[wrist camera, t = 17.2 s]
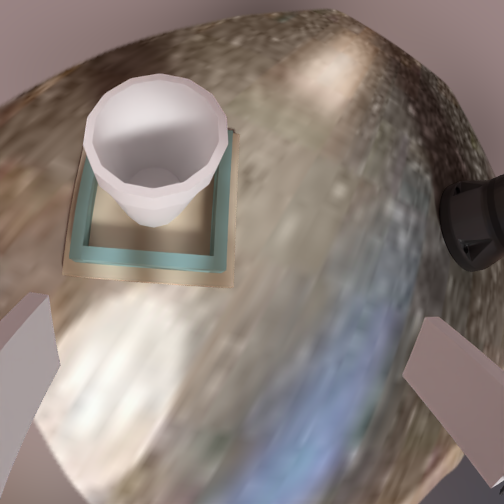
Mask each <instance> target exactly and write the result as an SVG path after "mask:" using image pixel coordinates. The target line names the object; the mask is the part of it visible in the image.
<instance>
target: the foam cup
mask: <svg viewBox="0 0 504 504" xmlns="http://www.w3.org/2000/svg"><path fill="white" fill-rule="evenodd" d="M83 146H84V149H85V152H86V154H87V157H88V160H89V162H90V165H91V167H92V170H93V172H94V174H95V177H96V179H97V182H98V184H99V186H100V187H101V188H102V189H104V190H105V191H106V192H107V193H109V194H110V195H111V196H112V197H113V199H114V200H115V201H116V202H117V203H118V204H119V206H120V207H121V208H122V209H123V210H124V211H125V213H126V214H127V215H128V216H129V217H130V218H132V219H133V220H134V221H136V222H137V223H138V224H139V225H143V226H148V227H153V228H155V227H159V226H163V225H167V224H169V223H170V222H171V221H172V220H174V219H175V218H176V217H177V216H178V215H179V214H180V213H181V212H182V211H183V210H184V209H185V207H186V206H187V205H188V204H189V203H190V202H191V200H192V199H193V198H194V197H195V196H196V194H197V193H199V192H200V191H201V190H202V189H204V188H205V187H206V186H208V185H209V183H210V181H211V179H212V177H213V175H214V173H215V171H216V169H217V167H218V165H219V163H220V160H221V158H222V156H223V154H224V152H225V150H226V148H227V146H228V130H227V117H226V115H225V113H224V112H223V110H222V109H221V107H220V105H219V104H218V102H217V101H216V99H215V97H214V96H213V94H211V93H210V92H208V91H207V90H205V89H204V88H202V87H201V86H199V85H197V84H196V83H194V82H193V81H191V80H190V79H186V78H181V77H176V76H171V75H166V74H153V75H147V76H141V77H136V78H130V79H129V80H127V81H125V82H123V83H122V84H120V85H118V86H117V87H115V88H113V89H111V90H110V91H108V92H107V93H105V94H104V95H103V97H102V98H101V99H100V101H99V102H98V103H97V105H96V106H95V107H94V109H93V110H92V111H91V113H90V114H89V116H88V117H87V123H86V129H85V135H84V142H83Z"/></svg>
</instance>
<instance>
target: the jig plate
mask: <svg viewBox="0 0 504 504" xmlns="http://www.w3.org/2000/svg"><path fill="white" fill-rule="evenodd" d="M239 138H240V134H236V133H233V131H231V130H228V146H227V148H226V150H225V152H224V154H223V156H222V158H221V160H220V163H219V165H218V167H217V169H216V171H215V173H214V175H213V177H212V179H211V181H210V183H209V185H208V186H206V187H205V188H204V189H202V190H201V191H200V192H199V193H197V194H196V196H195V197H194V198H193V199H192V200H191V202H190V203H189V204H188V205H187V206H186V207H185V209H184V210H183V211H182V212H181V213H180V214H179V215H178V216H177V217H176V218H175V219H174V220H172V221H171V222H170V223H169V224H167V225H163V226H159V227H155V228H153V227H148V226H143V225H139V224H138V223H137V222H136V221H134V220H133V219H132V218H130V217H129V216H128V215H127V214H126V213H125V211H124V210H123V209H122V208H121V207H120V206H119V204H118V203H117V202H116V201H115V200H114V199H113V197H112V196H111V195H110V194H109V193H107V192H106V191H105V190H104V189H102V188H101V187H100V186H99V184H98V182H97V179H96V177H95V174H94V172H93V170H92V167H91V165H90V162H89V160H88V157H87V154H86V152H85V149H84V148H83V152H82V156H81V160H80V165H79V169H78V174H77V178H76V183H75V188H74V193H73V198H72V204H71V210H70V216H69V222H68V229H67V236H66V243H65V251H64V260H63V270H62V275H65V276H74V277H84V278H95V279H107V280H118V281H131V282H144V283H157V284H172V285H187V286H203V287H221V288H233V287H234V260H235V232H236V206H237V182H238V159H239Z"/></svg>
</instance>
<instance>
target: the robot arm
mask: <svg viewBox="0 0 504 504" xmlns="http://www.w3.org/2000/svg"><path fill="white" fill-rule="evenodd" d="M440 220H441V227H442V232H443V235H444V239H445V242H446V244H447V247H448V249H449V251H450V253H451V255H452V256H453V258H454V260H455V261H456V262H457V263H458V265H460V266H461V267H462V268H463V269H465V270H467V271H470V272H473V271H479V270H483V269H486V268H488V267H489V266H491V265H492V264H494V263H495V262H496V261H498V260H499V259H501V258H502V257H504V174H503V175H500V176H498V177H496V178H493V179H491V180H475V181H459V182H457V183H454V184H452V185H450V186H448V187H447V188H446V189H445V191H444V193H443V195H442V198H441V203H440ZM60 366H61V365H60V360H59V356H58V351H57V346H56V340H55V335H54V329H53V322H52V316H51V309H50V301H49V295H45V294H39V293H32V292H29V293H28V294H27V295H26V296H25V297H24V298H23V299H22V300H21V301H20V302H19V303H18V304H17V305H16V306H15V307H14V308H13V309H12V310H11V311H10V312H9V313H8V314H7V315H6V316H5V317H4V318H3V319H2V320H1V321H0V498H1V495H2V492H3V489H4V487H5V484H6V481H7V478H8V476H9V473H10V471H11V468H12V466H13V464H14V461H15V459H16V456H17V454H18V452H19V449H20V447H21V445H22V442H23V440H24V438H25V436H26V433H27V431H28V429H29V427H30V424H31V423H32V421H33V418H34V416H35V414H36V412H37V410H38V408H39V406H40V404H41V402H42V400H43V398H44V396H45V394H46V392H47V390H48V388H49V386H50V384H51V382H52V381H53V379H54V377H55V375H56V373H57V371H58V369H59V367H60ZM402 376H403V377H404V378H405V380H406V381H407V382H408V383H409V384H410V386H411V387H412V388H413V389H414V391H415V392H416V393H417V394H418V395H419V397H420V398H421V399H422V400H423V402H424V403H425V404H426V405H427V407H428V408H429V409H430V410H431V412H432V413H433V414H434V415H435V417H436V418H437V419H438V420H439V422H440V423H441V424H442V425H443V427H444V428H445V429H446V430H447V432H448V433H449V434H450V436H451V437H452V438H453V439H454V441H455V442H456V443H457V445H458V446H459V447H460V448H461V450H462V451H463V452H464V454H465V455H466V456H467V457H468V459H469V460H470V461H471V463H472V464H473V465H474V467H475V468H476V469H477V470H478V472H479V473H480V475H481V476H482V477H483V479H484V480H485V481H486V483H487V484H488V485H489V487H490V488H492V487H494V486H495V485H497V484H499V483H500V482H502V481H503V480H504V371H503V370H502V369H501V368H500V367H498V366H497V365H496V364H495V363H494V362H493V361H492V360H490V359H489V358H488V357H487V356H486V355H484V354H483V353H482V352H481V351H480V350H479V349H477V348H476V347H475V346H474V345H473V344H471V343H470V342H469V341H468V340H467V339H465V338H464V337H463V336H462V335H461V334H459V333H458V332H457V331H456V330H454V329H453V328H452V327H451V326H449V325H448V324H447V323H446V322H444V321H443V320H442V319H441V318H439V317H425V319H424V321H423V324H422V327H421V330H420V332H419V335H418V338H417V340H416V343H415V345H414V348H413V350H412V353H411V355H410V358H409V360H408V363H407V365H406V367H405V370H404V372H403V374H402ZM503 493H504V486H503V487H502V489H501V490H500V495H502V494H503Z"/></svg>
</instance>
